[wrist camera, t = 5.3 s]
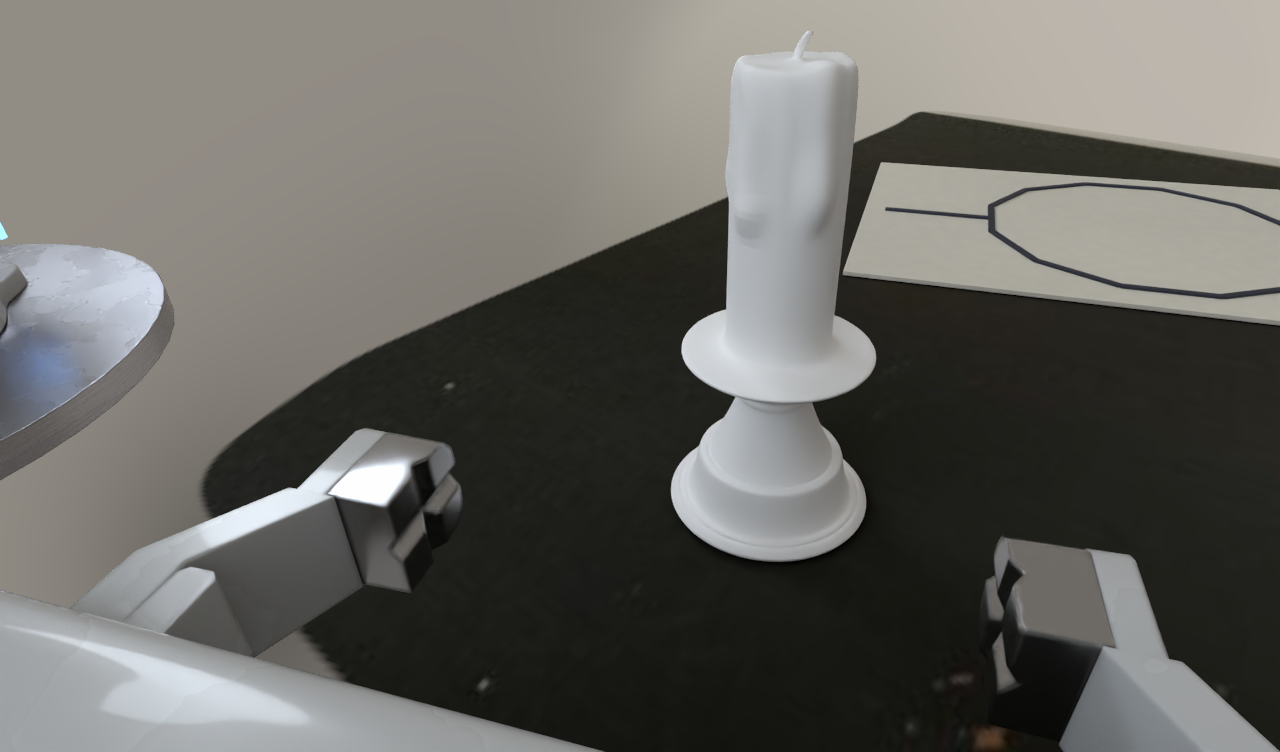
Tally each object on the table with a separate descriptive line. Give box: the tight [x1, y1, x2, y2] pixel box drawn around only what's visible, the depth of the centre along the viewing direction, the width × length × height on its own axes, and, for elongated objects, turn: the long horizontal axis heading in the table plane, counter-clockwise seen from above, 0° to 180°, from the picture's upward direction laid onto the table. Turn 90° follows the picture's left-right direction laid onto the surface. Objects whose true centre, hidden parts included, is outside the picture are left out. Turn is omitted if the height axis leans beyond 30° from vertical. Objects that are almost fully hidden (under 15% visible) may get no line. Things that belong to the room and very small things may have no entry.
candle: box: [671, 31, 876, 562], centre depth 18 cm, size 5×5×12 cm
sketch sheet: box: [843, 162, 1280, 325], centre depth 36 cm, size 20×16×1 cm
